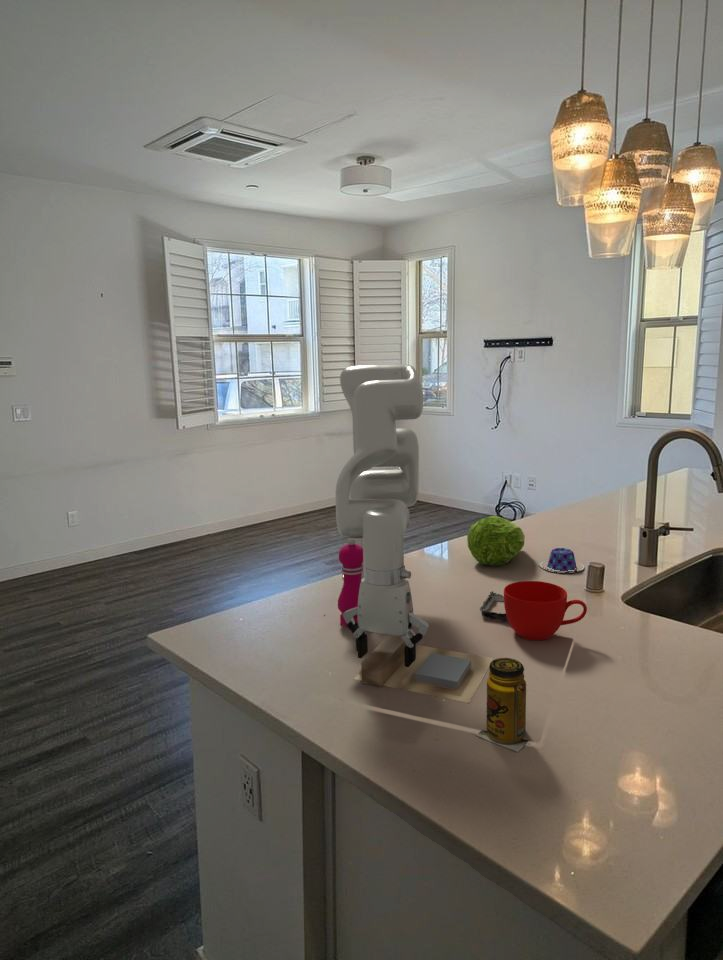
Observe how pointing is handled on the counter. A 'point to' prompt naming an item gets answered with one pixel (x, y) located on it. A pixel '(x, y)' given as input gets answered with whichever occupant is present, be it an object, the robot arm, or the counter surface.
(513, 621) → the ceramic cup
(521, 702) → the condiment
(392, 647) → the walnut turner
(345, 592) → the pepper mill
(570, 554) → the blue bucket hat
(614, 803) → the counter surface
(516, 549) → the lettuce
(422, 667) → the slate tile
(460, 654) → the cork mat
